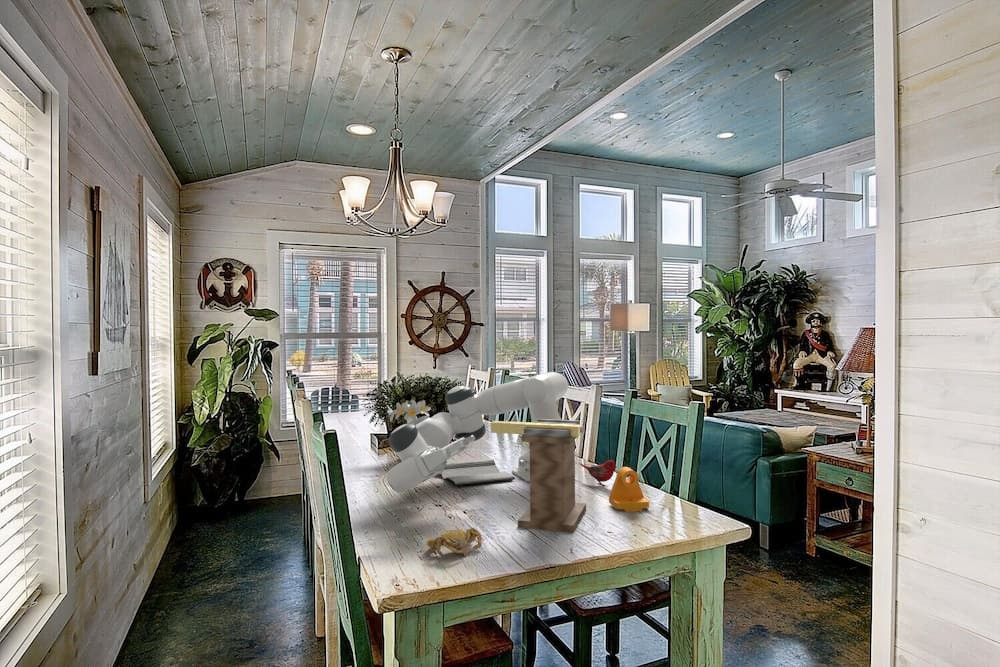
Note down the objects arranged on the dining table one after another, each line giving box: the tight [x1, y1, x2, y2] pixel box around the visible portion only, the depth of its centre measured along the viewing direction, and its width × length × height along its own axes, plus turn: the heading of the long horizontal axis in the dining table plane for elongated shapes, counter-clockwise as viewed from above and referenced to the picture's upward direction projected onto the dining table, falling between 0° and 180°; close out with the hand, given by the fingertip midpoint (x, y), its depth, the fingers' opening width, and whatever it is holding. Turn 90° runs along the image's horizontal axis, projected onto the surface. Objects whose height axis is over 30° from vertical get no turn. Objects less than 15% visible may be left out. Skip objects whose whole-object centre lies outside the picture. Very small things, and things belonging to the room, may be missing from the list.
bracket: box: [608, 466, 650, 512], centre depth 192 cm, size 11×7×12 cm, turn 98°
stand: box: [517, 419, 587, 534], centre depth 182 cm, size 16×21×28 cm
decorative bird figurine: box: [579, 459, 618, 487], centre depth 218 cm, size 3×18×10 cm, turn 39°
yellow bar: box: [490, 420, 581, 438], centre depth 177 cm, size 26×3×3 cm, turn 72°
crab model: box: [426, 527, 483, 557], centre depth 158 cm, size 15×13×6 cm
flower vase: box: [386, 399, 432, 424], centre depth 260 cm, size 13×18×25 cm
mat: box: [438, 458, 516, 488], centre depth 230 cm, size 23×24×5 cm
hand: (468, 440), depth 184 cm, fingers open, 8 cm apart
